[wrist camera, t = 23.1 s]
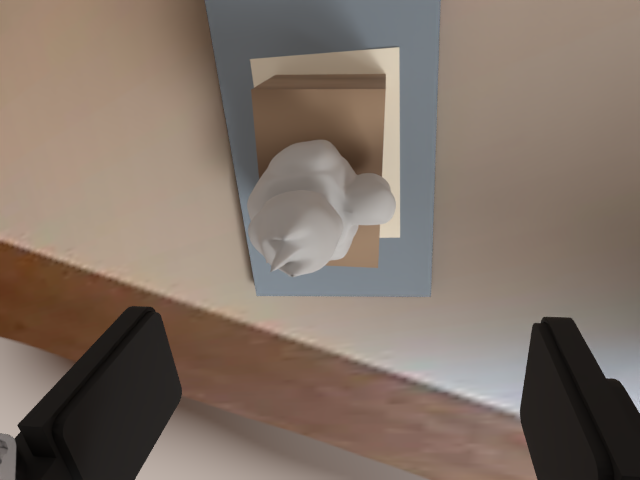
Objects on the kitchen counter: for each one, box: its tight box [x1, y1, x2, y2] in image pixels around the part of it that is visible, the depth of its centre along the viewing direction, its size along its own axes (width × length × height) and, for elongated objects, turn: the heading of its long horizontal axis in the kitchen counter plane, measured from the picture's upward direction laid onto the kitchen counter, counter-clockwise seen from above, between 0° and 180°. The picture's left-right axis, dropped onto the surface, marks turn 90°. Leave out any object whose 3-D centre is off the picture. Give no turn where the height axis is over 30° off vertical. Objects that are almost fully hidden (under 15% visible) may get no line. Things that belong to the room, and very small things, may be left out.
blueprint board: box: [205, 0, 441, 297], centre depth 27 cm, size 20×12×1 cm, turn 5°
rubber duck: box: [247, 140, 396, 277], centre depth 18 cm, size 5×7×8 cm
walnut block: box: [251, 74, 386, 268], centre depth 24 cm, size 9×6×5 cm, turn 1°
